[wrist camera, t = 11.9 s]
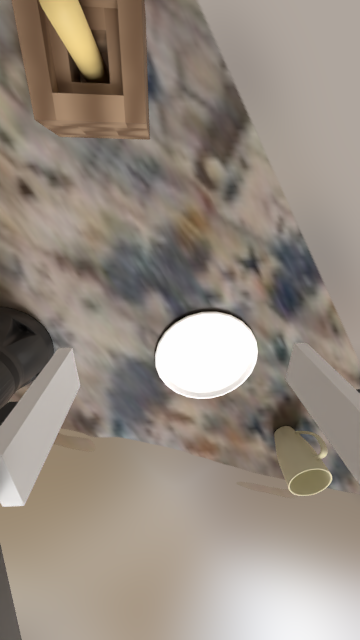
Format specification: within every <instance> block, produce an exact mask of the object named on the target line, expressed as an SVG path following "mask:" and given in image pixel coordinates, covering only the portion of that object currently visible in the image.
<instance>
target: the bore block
mask: <svg viewBox="0 0 360 640" xmlns="http://www.w3.org/2000/svg"><path fill="white" fill-rule="evenodd" d="M78 1H79V3H80V6H81V8H82V10H83V13H84V15H85V18H86V20H87V23H88V25H89V27H90V30H91V32H92V35H93V37H94V40H95V42H96V45H97V47H98V49H99V52H100V54H101V57H102V59H103V62H104V64H105V66H106V69H107V71H108V75H109V83H108V84H102V83H87V82H86V80H85V78H84V77H83V75H82V73H81V72H80V70H79V68H78V67H77V65H76V63H75V62H74V60H73V58H72V57H71V55H70V53H69V52H68V50H67V48H66V47H65V45H64V43H63V42H62V40H61V38H60V37H59V35H58V34H57V32H56V30H55V29H54V27H53V25H52V24H51V22H50V20H49V19H48V17H47V15H46V14H45V12H44V10H43V9H42V7H41V4H40V2H39V0H12V5H13V10H14V16H15V21H16V26H17V31H18V36H19V41H20V47H21V52H22V57H23V62H24V67H25V72H26V77H27V83H28V88H29V93H30V98H31V103H32V108H33V114H34V119H35V120H36V121H38V122H39V123H40V124H42V125H43V126H45V127H46V128H48V129H49V130H51V131H52V132H54V133H55V134H57V135H58V136H60V137H84V138H117V139H150V136H149V107H148V77H147V47H146V18H145V4H144V0H78Z"/></svg>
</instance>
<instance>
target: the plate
mask: <svg viewBox="0 0 360 640" xmlns="http://www.w3.org/2000/svg"><path fill="white" fill-rule="evenodd" d="M257 354H258V349H257V342H256V339H255V337H254V335H253V333H252V331H251V329H250V328H249V327H248V326H247V325H246V324H245V323H244V322H243V321H241V320H240V319H238V318H236V317H234V316H232V315H230V314H226V313H222V312H217V311H212V312H199V313H195V314H192V315H188V316H186V317H184V318H182V319H181V320H179V321H177V322H175V323H174V324H173V325H172V326H171V327H170V328H169V329H168V330H166V331H165V333H164V334H163V336H162V338H161V339H160V341H159V342H158V346H157V349H156V353H155V365H156V369H157V371H158V374H159V377H160V378H161V379H162V381H163V382H164V383H165V384H166V386H168V387H169V388H170V389H172V390H173V391H174V392H176V393H179V394H181V395H183V396H186V397H191V398H197V399H204V398H213V397H218V396H222V395H224V394H226V393H228V392H231V391H233V390H234V389H236V388H237V387H238V386H240V385H241V384H242V383H243V382H244V381H245V380H246V379H247V378H248V377H249V375H250V374H251V373H252V370H253V368H254V366H255V364H256V360H257Z"/></svg>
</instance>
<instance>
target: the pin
mask: <svg viewBox="0 0 360 640" xmlns="http://www.w3.org/2000/svg"><path fill="white" fill-rule="evenodd" d="M39 2H40V4H41V7H42V9H43V10H44V12H45V14H46V15H47V17H48V19H49V20H50V22H51V24H52V25H53V27H54V29H55V30H56V32H57V34H58V35H59V37H60V38H61V40H62V42H63V43H64V45H65V47H66V48H67V50H68V52H69V53H70V55H71V57H72V58H73V60H74V62H75V63H76V65H77V67H78V68H79V70H80V72H81V73H82V75H83V77H84V78H85V80H86V82H87V83H102V84H108V83H109V75H108V71H107V69H106V66H105V64H104V62H103V59H102V57H101V54H100V52H99V49H98V47H97V45H96V42H95V40H94V37H93V35H92V32H91V30H90V27H89V25H88V23H87V20H86V18H85V15H84V13H83V10H82V8H81V6H80V3H79V1H78V0H39Z"/></svg>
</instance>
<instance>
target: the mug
mask: <svg viewBox="0 0 360 640" xmlns="http://www.w3.org/2000/svg"><path fill="white" fill-rule="evenodd" d="M300 434H311V435H313V436H314V437H315V438H316V439H317V440H318V442H319V444H320V447H321V452H320V454H318V455H317V453H316V452H315V451H314V449H313V448H312V447H311V446H310V444H309V443H308V442H307V441H306V440H305V439H303V438H302V437H301V436H300ZM274 437H275V445H276V452H277V458H278V461H279V464H280V467H281V470H282V472H283V475H284V478H285V480H286V483H287V486H288V488H289V490H290V492H291V493H293V494H295V495H299V496H308V495H313V494H316V493H318V492H321V491H322V490H324V489H325V488H326V487H328V486H329V484H330V483H331V481H332V475H331V473H330V472H329V470H328V469H327V467H326V466H325V465H324V463H323V462H322V460H321V459H322V458H324V457H325V456H326V455H327V447H326V444H325V443H324V441H323V440H322V438H321V437H320V436H318V435H317V434H315V433H312V432H308V431H295V430H294V429H292V428H291V427H289V426H284V427H280V428H279V429H277V430H276V431H275V433H274Z"/></svg>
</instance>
